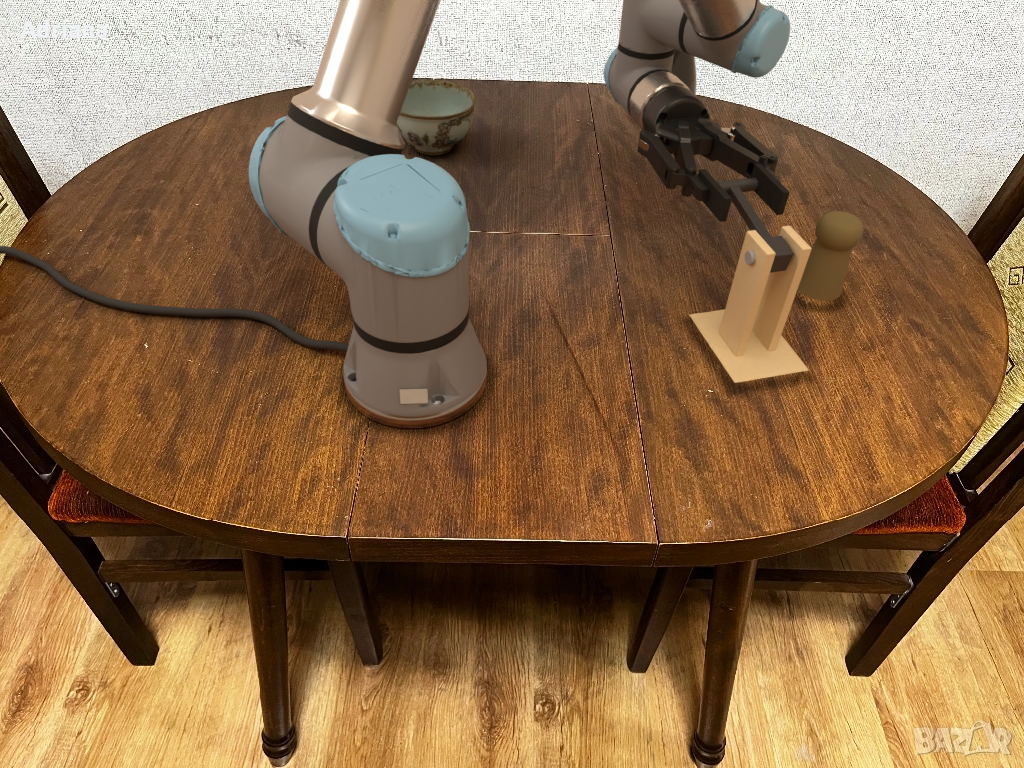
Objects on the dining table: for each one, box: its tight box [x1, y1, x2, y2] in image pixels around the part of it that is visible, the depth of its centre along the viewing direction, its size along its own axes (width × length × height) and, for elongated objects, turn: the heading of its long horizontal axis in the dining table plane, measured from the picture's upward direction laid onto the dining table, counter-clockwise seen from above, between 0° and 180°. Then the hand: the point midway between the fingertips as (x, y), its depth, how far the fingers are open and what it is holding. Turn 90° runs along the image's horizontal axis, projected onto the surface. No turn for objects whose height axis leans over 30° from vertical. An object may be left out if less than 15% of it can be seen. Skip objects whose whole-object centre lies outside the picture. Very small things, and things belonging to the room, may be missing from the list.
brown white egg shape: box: [671, 49, 697, 96], centre depth 125 cm, size 10×10×15 cm
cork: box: [797, 210, 864, 301], centre depth 92 cm, size 6×6×11 cm
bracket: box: [688, 225, 812, 384], centre depth 83 cm, size 12×9×15 cm
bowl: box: [397, 79, 477, 156], centre depth 119 cm, size 14×13×8 cm
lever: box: [717, 177, 794, 273], centre depth 82 cm, size 13×6×2 cm, turn 14°
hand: (754, 206), depth 81 cm, fingers closed on lever, 6 cm apart
